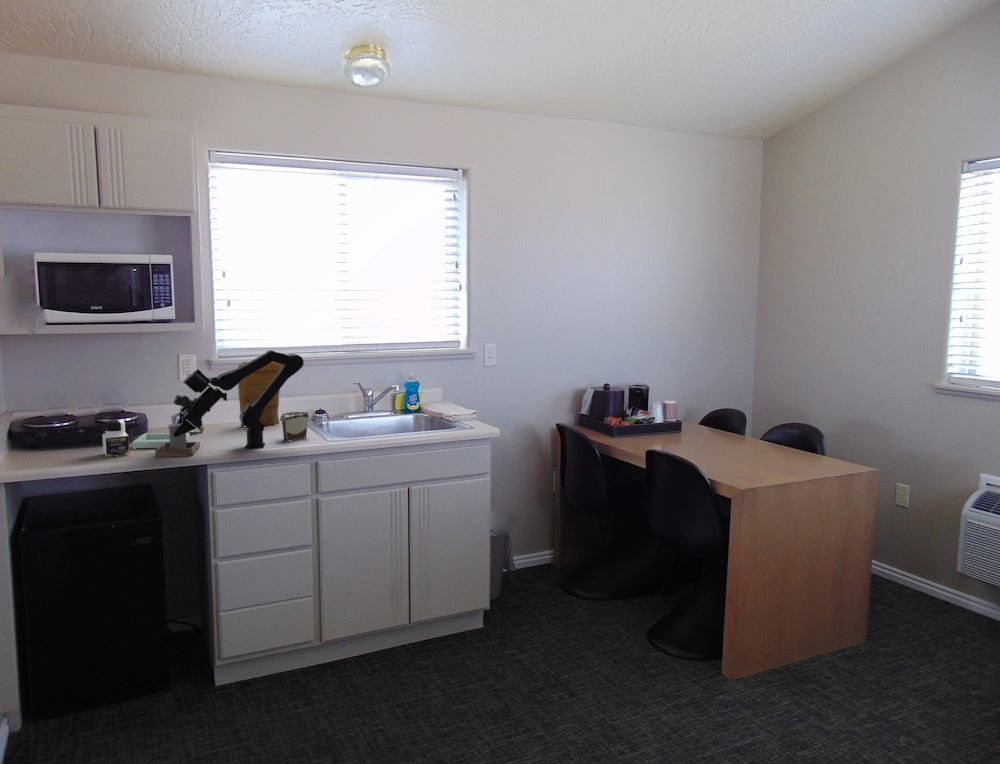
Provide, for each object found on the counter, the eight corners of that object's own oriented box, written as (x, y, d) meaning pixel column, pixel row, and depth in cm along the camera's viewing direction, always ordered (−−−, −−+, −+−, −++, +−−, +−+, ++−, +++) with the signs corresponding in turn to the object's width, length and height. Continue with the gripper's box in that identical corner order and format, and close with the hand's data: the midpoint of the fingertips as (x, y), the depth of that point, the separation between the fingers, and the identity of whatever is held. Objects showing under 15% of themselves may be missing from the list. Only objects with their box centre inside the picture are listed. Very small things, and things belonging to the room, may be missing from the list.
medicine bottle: (106, 457, 249) (104, 423, 247) (103, 453, 255) (101, 419, 253) (129, 455, 253) (128, 421, 252) (126, 451, 259) (124, 418, 257)
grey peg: (170, 451, 259) (168, 424, 258) (185, 450, 262) (184, 423, 260) (171, 454, 255) (169, 426, 254) (186, 453, 257) (185, 425, 256)
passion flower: (185, 449, 289) (165, 427, 283) (181, 439, 298) (162, 417, 292) (210, 432, 292) (191, 409, 285) (205, 422, 300) (187, 400, 294)
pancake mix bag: (285, 425, 314) (284, 360, 310) (240, 429, 303) (238, 361, 300) (281, 422, 319) (279, 358, 316) (236, 426, 309) (234, 360, 306)
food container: (298, 435, 292) (298, 410, 291) (309, 437, 289) (308, 412, 288) (273, 440, 282) (273, 414, 281) (284, 442, 279) (283, 416, 277)
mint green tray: (144, 440, 278) (144, 433, 277) (189, 439, 281) (189, 432, 281) (132, 449, 262) (132, 442, 262) (180, 448, 265) (179, 441, 265)
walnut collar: (164, 449, 263) (164, 442, 263) (199, 448, 265) (199, 441, 265) (155, 456, 251) (155, 449, 251) (192, 455, 254) (192, 448, 253)
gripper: (185, 383, 265) (153, 415, 261) (190, 389, 249) (156, 424, 245) (209, 403, 270) (177, 435, 266) (216, 411, 254) (182, 445, 250)
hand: (173, 434), depth 257 cm, fingers open, 7 cm apart
